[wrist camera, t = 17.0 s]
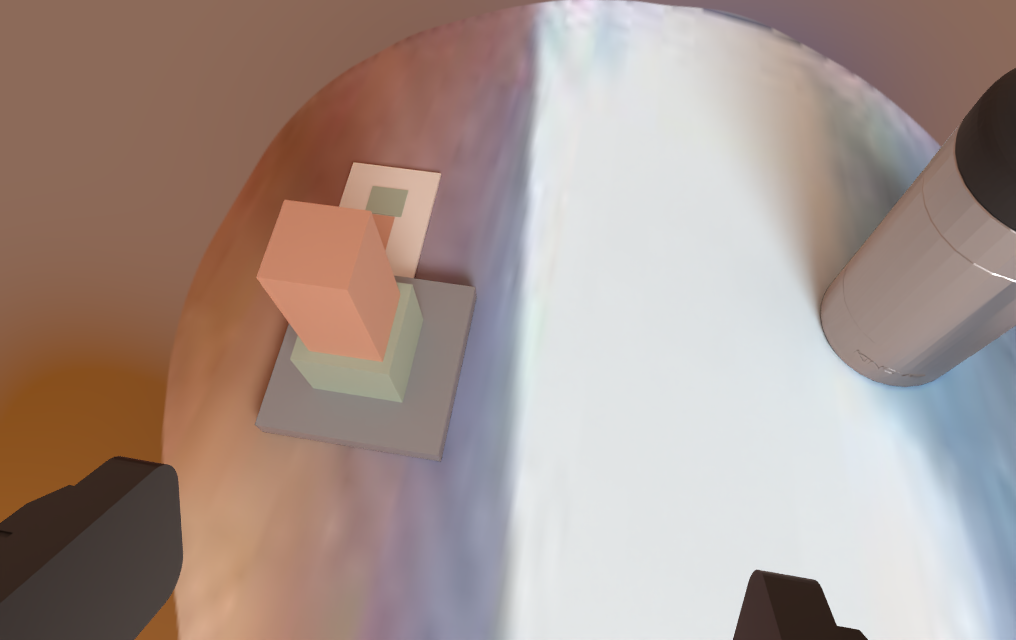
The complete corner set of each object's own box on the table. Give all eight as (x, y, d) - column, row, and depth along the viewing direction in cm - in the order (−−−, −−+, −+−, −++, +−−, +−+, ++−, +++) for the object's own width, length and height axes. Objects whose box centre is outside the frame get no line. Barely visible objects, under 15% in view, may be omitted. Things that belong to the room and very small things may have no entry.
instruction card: (354, 164, 56) (353, 161, 56) (441, 175, 55) (440, 172, 55) (318, 274, 52) (316, 272, 51) (411, 288, 51) (410, 285, 51)
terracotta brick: (329, 284, 44) (284, 199, 36) (400, 294, 44) (370, 210, 35) (309, 350, 42) (256, 277, 34) (382, 362, 42) (347, 290, 34)
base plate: (315, 273, 52) (309, 263, 50) (476, 296, 51) (475, 287, 49) (262, 431, 47) (254, 424, 45) (440, 461, 46) (438, 455, 44)
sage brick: (338, 306, 49) (319, 271, 44) (423, 319, 48) (412, 284, 44) (313, 388, 46) (289, 359, 42) (402, 402, 46) (388, 374, 41)
